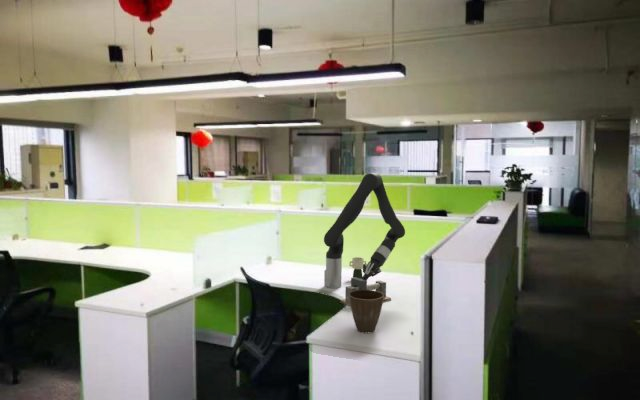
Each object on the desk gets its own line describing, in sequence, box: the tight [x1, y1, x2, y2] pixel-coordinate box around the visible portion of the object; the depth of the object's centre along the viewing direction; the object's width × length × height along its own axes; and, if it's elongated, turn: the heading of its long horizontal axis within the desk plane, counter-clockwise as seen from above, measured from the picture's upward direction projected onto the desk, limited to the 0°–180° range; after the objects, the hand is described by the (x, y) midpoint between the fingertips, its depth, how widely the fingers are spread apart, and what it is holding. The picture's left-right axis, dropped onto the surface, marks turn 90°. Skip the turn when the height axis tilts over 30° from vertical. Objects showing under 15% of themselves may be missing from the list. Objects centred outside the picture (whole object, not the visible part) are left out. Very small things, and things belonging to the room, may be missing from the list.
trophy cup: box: [349, 256, 367, 279], centre depth 302 cm, size 11×7×13 cm, turn 99°
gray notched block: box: [350, 277, 368, 290], centre depth 249 cm, size 3×9×9 cm, turn 36°
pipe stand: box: [340, 280, 392, 307], centre depth 253 cm, size 25×12×9 cm, turn 126°
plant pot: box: [349, 290, 384, 334], centre depth 208 cm, size 15×15×16 cm
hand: (363, 281), depth 251 cm, fingers closed
